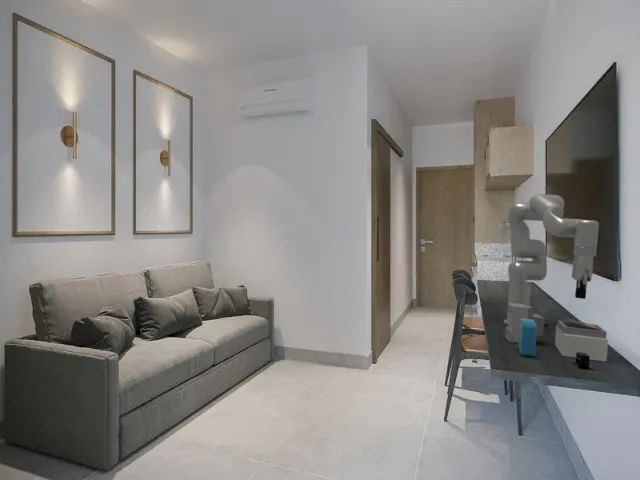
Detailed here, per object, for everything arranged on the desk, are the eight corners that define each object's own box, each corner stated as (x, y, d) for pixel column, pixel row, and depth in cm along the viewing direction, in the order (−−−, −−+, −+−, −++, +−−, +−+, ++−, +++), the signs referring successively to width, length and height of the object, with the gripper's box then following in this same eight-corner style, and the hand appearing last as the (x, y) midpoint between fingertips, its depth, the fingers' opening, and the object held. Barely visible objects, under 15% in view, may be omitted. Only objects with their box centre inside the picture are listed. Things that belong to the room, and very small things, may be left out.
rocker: (564, 321, 166) (565, 317, 165) (593, 329, 162) (594, 325, 162) (568, 325, 159) (569, 320, 159) (598, 333, 156) (599, 329, 156)
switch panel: (554, 344, 171) (556, 319, 171) (594, 349, 166) (596, 323, 166) (562, 355, 156) (564, 328, 156) (606, 361, 151) (608, 333, 151)
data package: (518, 347, 165) (520, 317, 164) (531, 349, 163) (533, 319, 162) (521, 356, 153) (523, 323, 153) (534, 358, 152) (537, 325, 151)
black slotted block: (564, 360, 153) (565, 347, 152) (587, 362, 151) (588, 350, 151) (577, 371, 140) (578, 358, 140) (601, 374, 139) (602, 360, 139)
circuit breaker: (546, 345, 169) (549, 309, 169) (509, 342, 172) (511, 306, 171) (541, 340, 177) (543, 305, 176) (505, 337, 179) (507, 302, 179)
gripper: (569, 249, 170) (565, 293, 172) (578, 252, 156) (573, 300, 158) (590, 250, 168) (586, 295, 169) (601, 254, 154) (596, 302, 155)
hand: (580, 297), depth 163 cm, fingers closed
